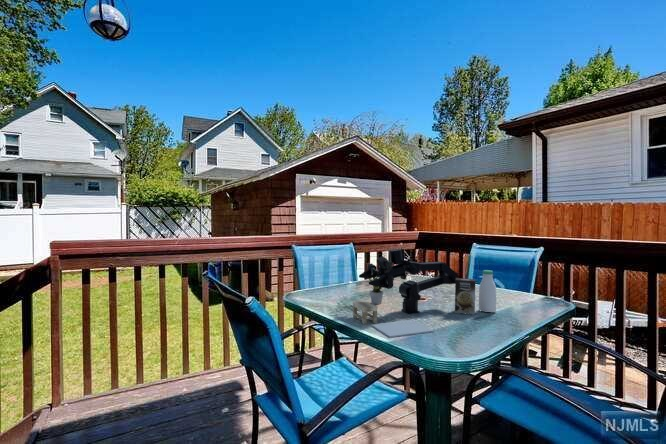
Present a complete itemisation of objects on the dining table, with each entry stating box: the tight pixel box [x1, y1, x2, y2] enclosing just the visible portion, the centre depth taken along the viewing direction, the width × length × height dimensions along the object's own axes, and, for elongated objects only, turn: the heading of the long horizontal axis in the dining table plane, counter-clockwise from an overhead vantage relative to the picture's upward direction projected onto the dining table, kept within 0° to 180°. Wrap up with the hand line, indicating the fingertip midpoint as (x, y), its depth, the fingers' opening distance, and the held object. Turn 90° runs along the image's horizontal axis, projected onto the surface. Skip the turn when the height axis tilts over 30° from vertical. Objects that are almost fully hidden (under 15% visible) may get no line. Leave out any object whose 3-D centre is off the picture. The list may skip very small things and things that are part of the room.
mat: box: [371, 319, 435, 339], centre depth 139 cm, size 20×15×1 cm
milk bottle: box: [478, 269, 497, 313], centre depth 166 cm, size 8×8×20 cm
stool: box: [352, 300, 378, 325], centre depth 151 cm, size 6×11×7 cm, turn 21°
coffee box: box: [454, 277, 476, 315], centre depth 164 cm, size 9×6×16 cm
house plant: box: [365, 276, 384, 305], centre depth 180 cm, size 14×14×16 cm
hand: (363, 279), depth 155 cm, fingers open, 9 cm apart
